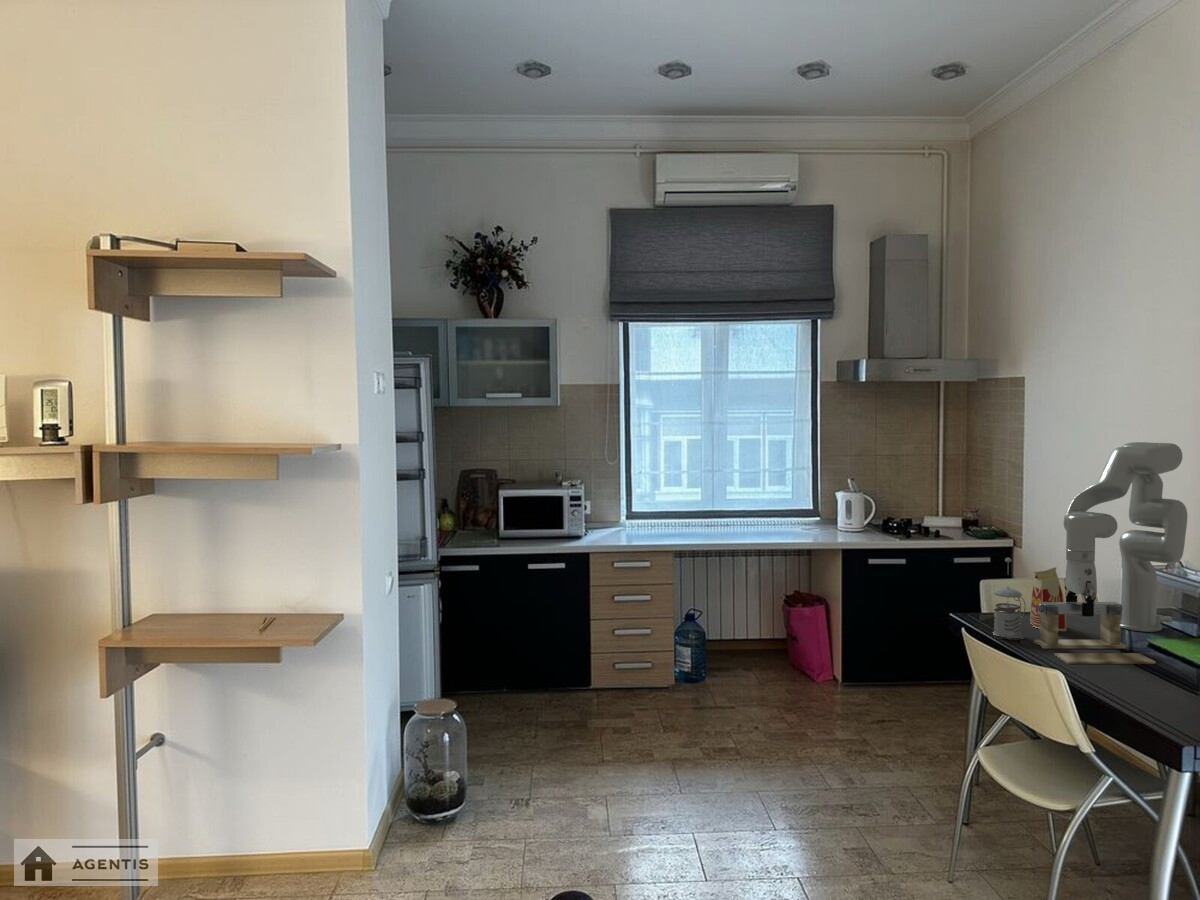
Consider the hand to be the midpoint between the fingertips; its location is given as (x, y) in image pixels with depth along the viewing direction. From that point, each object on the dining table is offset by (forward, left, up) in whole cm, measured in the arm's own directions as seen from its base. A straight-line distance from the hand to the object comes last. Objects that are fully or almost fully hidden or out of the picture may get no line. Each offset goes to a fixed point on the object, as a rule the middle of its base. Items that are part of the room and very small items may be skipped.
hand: (1079, 612), depth 257 cm
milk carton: (0, -21, -11) cm, 24 cm away
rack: (0, 0, -10) cm, 10 cm away
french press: (+16, -11, -11) cm, 22 cm away
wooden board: (0, +14, -10) cm, 17 cm away
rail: (0, 0, 0) cm, 0 cm away
